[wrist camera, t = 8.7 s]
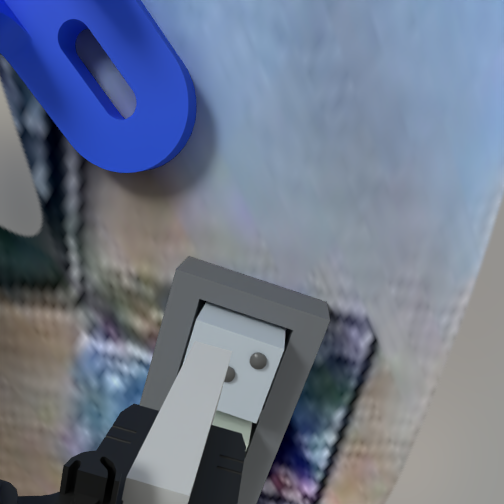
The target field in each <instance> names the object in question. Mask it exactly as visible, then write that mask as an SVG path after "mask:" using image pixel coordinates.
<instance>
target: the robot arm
mask: <svg viewBox="0 0 504 504" xmlns="http://www.w3.org/2000/svg"><path fill="white" fill-rule="evenodd" d="M231 355H232V351H230V350H226V349H222V348H219V347H215V346H212V345H208V344H205V343H201V342H197V341H194V343H193V345H192V347H191V349H190V351H189V353H188V355H187V357H186V359H185V361H184V363H183V365H182V367H181V369H180V371H179V373H178V375H177V377H176V379H175V381H174V383H173V385H172V387H171V389H170V391H169V393H168V395H167V397H166V399H165V401H164V403H163V405H162V407H161V409H160V411H158V410H154V409H151V408H147V407H144V406H140V405H137V404H133V405H131V406H130V407H128V408H127V409H125V410H124V411H122V412H121V413H120V415H119V416H118V418H117V419H116V421H115V422H114V424H113V426H112V427H111V429H110V430H109V432H108V433H107V435H106V437H105V438H104V439H103V441H102V443H101V444H100V446H99V447H98V449H97V450H96V451H89V452H83V453H80V454H78V455H76V456H74V457H72V458H71V459H70V460H69V461H68V462H67V463H66V464H65V465H64V467H63V473H62V480H61V487H60V492H57V493H54V494H51V495H44V496H18V495H17V489H16V488H15V487H14V486H13V485H12V484H11V483H9V482H6V481H3V480H1V479H0V504H237V503H238V497H239V490H240V484H241V478H242V471H243V465H244V464H243V463H244V458H245V452H246V445H245V442H244V439H243V436H242V433H239V432H235V431H232V430H228V429H225V428H221V427H218V426H214V425H212V424H213V421H214V417H215V414H216V410H217V407H218V403H219V399H220V395H221V392H222V388H223V384H224V381H225V377H226V373H227V369H228V366H229V362H230V358H231Z"/></svg>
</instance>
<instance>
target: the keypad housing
mask: <svg viewBox="0 0 504 504" xmlns="http://www.w3.org/2000/svg"><path fill="white" fill-rule="evenodd" d="M204 300H205V301H208V302H211V303H214V304H216V305H219V306H222V307H225V308H228V309H231V310H234V311H237V312H240V313H243V314H246V315H249V316H252V317H255V318H258V319H261V320H264V321H267V322H270V323H273V324H276V325H279V326H282V327H285V328H287V331H286V333H285V346H284V351H283V354H282V357H281V359H280V362H279V365H278V367H277V370H276V373H275V375H274V378H273V381H272V383H271V386H270V389H269V391H268V394H267V397H266V399H265V402H264V405H263V407H262V410H261V413H260V415H259V418H258V421H257V423H253V422H252V427H251V433H250V439H249V444H248V447H247V450H246V452H245V458H244V463H243V464H244V465H243V471H242V478H241V484H240V490H239V497H238V503H237V504H256V503H257V501H258V498H259V496H260V493H261V491H262V488H263V486H264V483H265V481H266V478H267V476H268V473H269V471H270V469H271V466H272V464H273V461H274V459H275V456H276V454H277V451H278V449H279V446H280V444H281V441H282V439H283V436H284V434H285V431H286V429H287V426H288V424H289V422H290V419H291V417H292V414H293V412H294V409H295V407H296V404H297V402H298V399H299V397H300V394H301V392H302V389H303V387H304V384H305V382H306V379H307V377H308V374H309V372H310V370H311V367H312V365H313V362H314V360H315V357H316V355H317V352H318V350H319V347H320V345H321V342H322V340H323V337H324V335H325V332H326V330H327V327H328V325H329V322H330V316H329V311H328V306H327V302H325V301H322V300H319V299H316V298H313V297H310V296H307V295H304V294H301V293H298V292H295V291H292V290H289V289H286V288H283V287H280V286H277V285H274V284H271V283H268V282H265V281H262V280H259V279H256V278H253V277H250V276H247V275H244V274H241V273H238V272H235V271H232V270H229V269H226V268H223V267H220V266H217V265H214V264H211V263H208V262H205V261H202V260H199V259H196V258H193V257H190V256H189V257H188V258H187V259H186V260H185V261H184V262H183V263H182V264H181V265H180V266H179V267H178V268H177V269H176V272H175V275H174V279H173V283H172V287H171V290H170V294H169V298H168V301H167V305H166V309H165V313H164V316H163V320H162V324H161V327H160V331H159V335H158V338H157V342H156V346H155V350H154V353H153V357H152V361H151V364H150V368H149V372H148V375H147V379H146V383H145V387H144V390H143V394H142V398H141V401H140V406H144V407H147V408H151V409H154V410H158V411H160V409H161V407H162V405H163V403H164V401H165V399H166V397H167V395H168V393H169V391H170V389H171V387H172V385H173V383H174V381H175V379H176V377H177V375H178V373H179V371H180V369H181V367H182V365H183V362H184V359H185V355H186V352H187V348H188V345H189V342H190V338H191V335H192V332H193V328H194V325H195V321H196V319H197V317H198V315H199V314H200V312H201V310H202V306H203V303H204Z"/></svg>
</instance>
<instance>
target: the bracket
mask: <svg viewBox="0 0 504 504" xmlns="http://www.w3.org/2000/svg"><path fill="white" fill-rule="evenodd" d="M85 29H89V30H90V31H91V32H92V34H93V35H94V37H95V38H96V39H97V41H98V42H99V44H100V45H101V46H102V48H103V49H104V51H105V52H106V53H107V55H108V56H109V58H110V59H111V60H112V62H113V63H114V65H115V66H116V67H117V69H118V70H119V72H120V73H121V75H122V76H123V77H124V79H125V80H126V82H127V83H128V84H129V86H130V87H131V89H132V90H133V91H134V93H135V96H136V100H137V105H136V109H135V112H134V113H133V115H132V116H131V117H129V118H127V119H124V118H123V117H122V116H121V114H120V113H119V112H118V110H117V109H116V108H115V106H114V105H113V103H112V102H111V101H110V99H109V98H108V97H107V95H106V94H105V92H104V91H103V90H102V88H101V87H100V86H99V84H98V83H97V81H96V80H95V79H94V77H93V76H92V74H91V73H90V72H89V70H88V69H87V68H86V66H85V65H84V63H83V62H82V61H81V59H80V58H79V56H78V55H77V52H76V48H75V43H76V39H77V36H78V35H79V33H80V32H81V31H83V30H85ZM0 54H2V55H3V56H4V57H5V59H6V60H7V61H8V62H9V63H10V64H11V66H12V67H13V68H14V70H15V71H16V72H17V74H18V75H19V76H20V78H21V79H22V80H23V82H24V83H25V84H26V86H27V87H28V88H29V90H30V91H31V92H32V94H33V95H34V96H35V98H36V99H37V100H38V102H39V103H40V104H41V105H42V107H43V108H44V109H45V111H46V112H47V113H48V115H49V116H50V117H51V119H52V120H53V121H54V123H55V124H56V125H57V127H58V128H59V129H60V131H61V132H62V133H63V135H64V136H65V137H66V139H67V140H68V141H69V143H70V144H71V145H72V146H73V147H74V149H75V150H76V151H77V152H78V153H79V154H80V155H82V156H83V157H84V158H85V159H86V160H88V161H89V162H91V163H93V164H94V165H96V166H98V167H101V168H103V169H106V170H109V171H113V172H119V173H133V172H139V171H145V170H151V169H154V168H157V167H160V166H162V165H164V164H166V163H167V162H169V161H170V160H172V159H173V158H174V157H175V156H176V155H177V154H178V153H179V152H180V151H181V150H182V149H183V148H184V146H185V144H186V143H187V141H188V139H189V137H190V135H191V133H192V130H193V127H194V123H195V118H196V107H197V106H196V95H195V89H194V85H193V82H192V79H191V76H190V74H189V72H188V70H187V68H186V67H185V65H184V63H183V62H182V60H181V59H180V57H179V56H178V55H177V53H176V52H175V50H174V49H173V47H172V46H171V44H170V43H169V41H168V40H167V38H166V37H165V35H164V34H163V33H162V31H161V30H160V28H159V27H158V25H157V24H156V22H155V21H154V19H153V18H152V16H151V15H150V13H149V12H148V11H147V9H146V8H145V6H144V5H143V3H142V2H141V0H0Z"/></svg>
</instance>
